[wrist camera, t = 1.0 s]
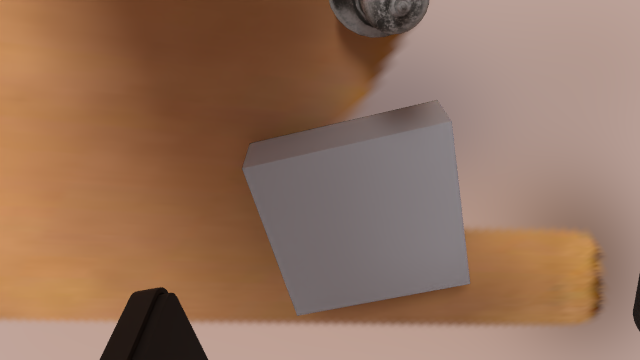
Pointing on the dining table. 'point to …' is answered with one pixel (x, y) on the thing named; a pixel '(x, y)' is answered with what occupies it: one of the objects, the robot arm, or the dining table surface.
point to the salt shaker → (379, 15)
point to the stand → (362, 208)
